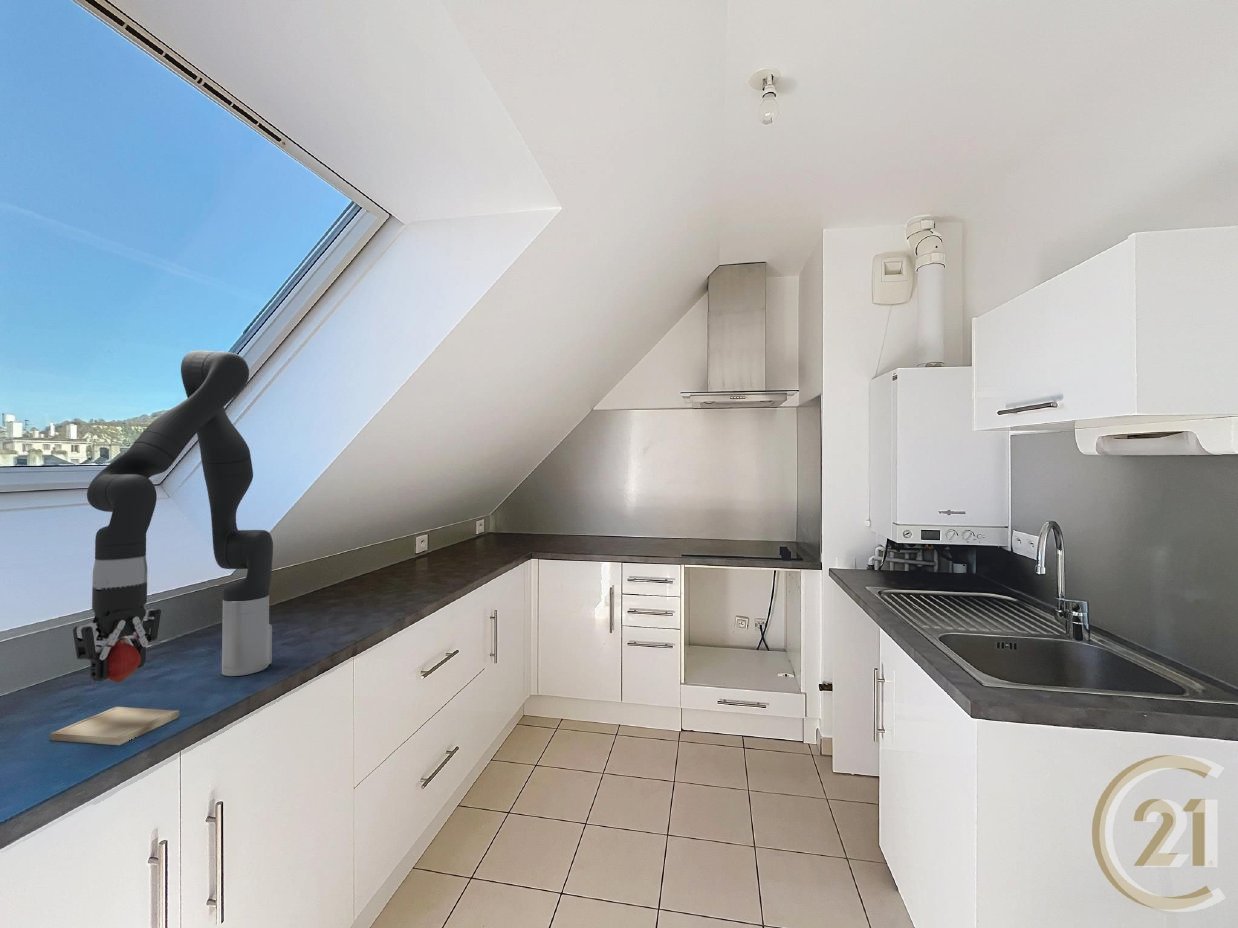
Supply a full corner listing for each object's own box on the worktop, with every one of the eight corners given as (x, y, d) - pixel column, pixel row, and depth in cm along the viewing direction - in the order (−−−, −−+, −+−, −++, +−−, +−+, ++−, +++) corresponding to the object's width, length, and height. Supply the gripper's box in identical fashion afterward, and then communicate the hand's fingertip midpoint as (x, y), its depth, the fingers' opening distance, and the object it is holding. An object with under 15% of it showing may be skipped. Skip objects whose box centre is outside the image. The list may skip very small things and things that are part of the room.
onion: (108, 689, 97) (109, 644, 97) (89, 685, 99) (90, 641, 99) (147, 678, 102) (147, 635, 102) (128, 674, 104) (129, 632, 104)
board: (116, 712, 107) (116, 706, 107) (179, 716, 105) (179, 710, 105) (50, 739, 96) (50, 732, 96) (119, 745, 94) (119, 737, 94)
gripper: (141, 574, 109) (140, 659, 108) (58, 589, 94) (56, 687, 94) (175, 575, 108) (173, 661, 107) (95, 590, 93) (94, 689, 93)
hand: (118, 673), depth 101 cm, fingers closed on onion, 6 cm apart
